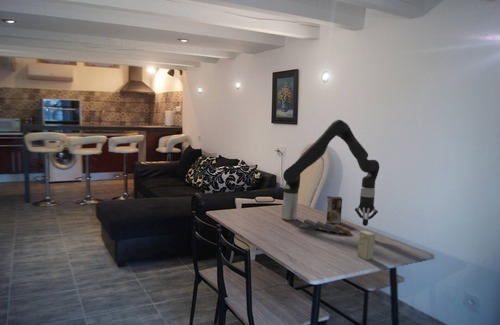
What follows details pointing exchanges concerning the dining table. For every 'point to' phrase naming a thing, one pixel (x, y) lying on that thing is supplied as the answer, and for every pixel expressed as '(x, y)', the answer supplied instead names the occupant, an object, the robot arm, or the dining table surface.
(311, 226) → the domino
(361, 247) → the skincare box
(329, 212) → the coffee box
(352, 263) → the dining table surface
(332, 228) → the domino
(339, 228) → the domino
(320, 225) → the domino
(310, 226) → the domino
